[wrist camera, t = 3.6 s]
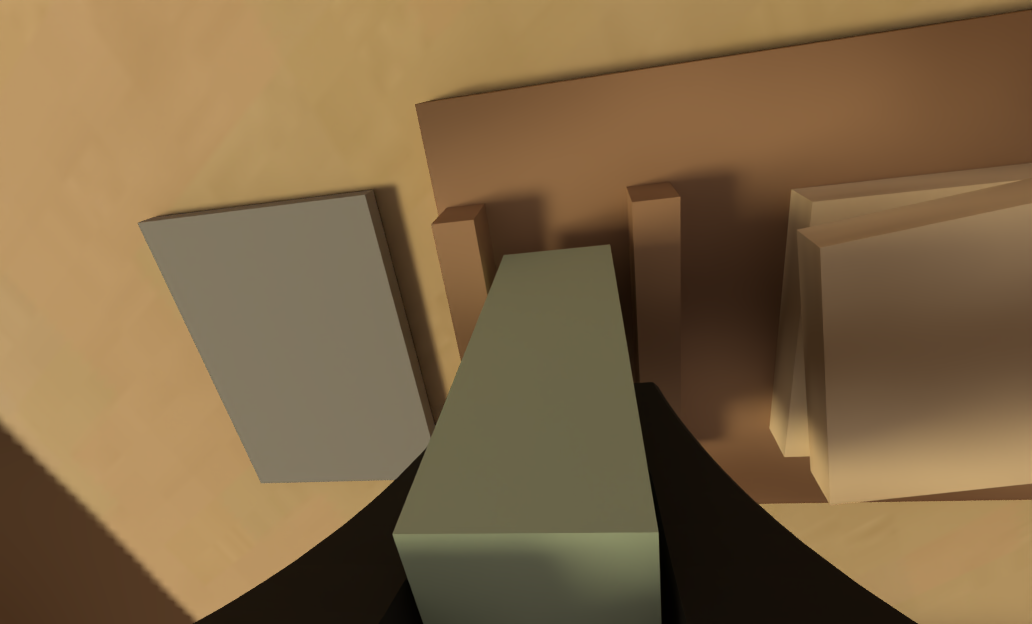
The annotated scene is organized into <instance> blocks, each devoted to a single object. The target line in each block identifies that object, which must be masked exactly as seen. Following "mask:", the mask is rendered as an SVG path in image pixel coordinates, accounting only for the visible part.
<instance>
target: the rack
mask: <svg viewBox="0 0 1032 624" xmlns="http://www.w3.org/2000/svg"><path fill="white" fill-rule="evenodd" d="M415 106H416V111H417V116H418V121H419V125H420V130H421V135H422V139H423V144H424V149H425V154H426V158H427V163H428V168H429V173H430V177H431V182H432V187H433V191H434V196H435V201H436V206H437V210H438V215H439V217H438V218H437V219H436V220H435V221H434V222H433V223H432V224H431V226H432V231H433V235H434V240H435V244H436V249H437V253H438V258H439V262H440V267H441V272H442V276H443V281H444V285H445V290H446V294H447V299H448V303H449V308H450V313H451V317H452V322H453V326H454V331H455V335H456V340H457V344H458V349H459V353H460V358H461V361H462V358H463V356H464V353H465V351H466V348H467V346H468V343H469V341H470V338H471V336H472V333H473V331H474V328H475V326H476V323H477V321H478V318H479V316H480V313H481V311H482V308H483V306H484V303H485V301H486V298H487V296H488V293H489V291H490V288H491V286H492V283H493V281H494V278H495V276H496V273H497V271H498V268H499V266H500V263H501V261H502V258H503V256H504V255H509V254H519V253H529V252H539V251H549V250H559V249H569V248H579V247H589V246H599V245H609V244H610V247H611V253H612V259H613V265H614V271H615V277H616V283H617V289H618V295H619V300H620V306H621V312H622V318H623V324H624V330H625V336H626V342H627V348H628V354H629V360H630V366H631V372H632V378H633V383H643V382H653V383H655V384H656V385H657V386H658V387H659V389H660V390H661V392H662V394H663V395H664V397H665V398H666V400H667V401H668V403H669V404H670V406H671V407H672V409H673V410H674V411H675V413H676V414H677V415H678V417H679V418H680V420H681V421H682V422H683V423H684V425H685V426H686V427H687V429H688V430H689V431H690V432H691V433H692V435H693V436H694V437H695V438H696V439H697V441H698V442H699V443H700V444H701V445H702V447H703V448H704V449H705V450H706V451H707V452H708V454H709V455H710V456H711V457H712V458H713V459H714V460H715V461H716V462H717V464H718V465H719V466H720V467H721V468H722V469H723V470H724V471H725V472H726V473H727V474H728V475H729V476H730V477H731V478H732V479H733V480H734V481H735V482H736V483H737V484H738V485H739V486H740V487H741V488H742V489H743V490H744V491H745V492H746V493H747V494H748V495H749V496H750V497H751V498H752V499H753V500H754V501H755V502H756V503H758V504H771V503H829V502H828V501H827V499H826V497H825V495H824V494H823V492H822V490H821V488H820V486H819V485H818V483H817V481H816V479H815V478H814V476H813V474H812V472H811V469H810V456H804V457H784V456H783V454H782V452H781V450H780V448H779V446H778V444H777V442H776V440H775V438H774V436H773V434H772V432H771V431H770V429H769V427H770V416H771V405H772V395H773V384H774V373H775V362H776V351H777V340H778V329H779V318H780V307H781V296H782V285H783V275H784V264H785V253H786V242H787V231H788V220H789V209H790V198H791V189H798V188H807V187H816V186H825V185H835V184H844V183H853V182H862V181H871V180H880V179H889V178H898V177H908V176H917V175H926V174H935V173H944V172H953V171H962V170H971V169H980V168H990V167H999V166H1008V165H1017V164H1026V163H1032V9H1029V10H1022V11H1016V12H1009V13H1002V14H996V15H989V16H983V17H976V18H970V19H963V20H957V21H950V22H944V23H937V24H930V25H924V26H917V27H911V28H904V29H898V30H891V31H885V32H878V33H872V34H865V35H858V36H852V37H845V38H839V39H832V40H826V41H819V42H813V43H806V44H800V45H793V46H786V47H780V48H773V49H767V50H760V51H754V52H747V53H741V54H734V55H728V56H721V57H714V58H708V59H701V60H695V61H688V62H682V63H675V64H669V65H662V66H656V67H649V68H642V69H636V70H629V71H623V72H616V73H610V74H603V75H597V76H590V77H584V78H577V79H570V80H564V81H557V82H551V83H544V84H538V85H531V86H525V87H518V88H512V89H505V90H498V91H492V92H485V93H479V94H472V95H466V96H459V97H453V98H446V99H440V100H433V101H427V102H423V103H419V104H415ZM967 500H1032V484H1023V485H1013V486H1004V487H995V488H985V489H976V490H967V491H958V492H948V493H939V494H930V495H920V496H911V497H902V498H892V499H883V500H874V501H865V502H902V501H967Z"/></svg>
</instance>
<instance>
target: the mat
mask: <svg viewBox="0 0 1032 624" xmlns="http://www.w3.org/2000/svg"><path fill="white" fill-rule="evenodd" d="M138 225H139V227H140V229H141V231H142V233H143V235H144V238H145V240H146V242H147V244H148V246H149V248H150V250H151V252H152V254H153V257H154V259H155V261H156V263H157V265H158V267H159V269H160V271H161V273H162V275H163V278H164V280H165V282H166V284H167V286H168V288H169V290H170V292H171V294H172V296H173V299H174V301H175V303H176V305H177V307H178V309H179V311H180V313H181V315H182V318H183V320H184V322H185V324H186V326H187V328H188V330H189V332H190V334H191V336H192V339H193V341H194V343H195V345H196V347H197V349H198V351H199V353H200V355H201V358H202V360H203V362H204V364H205V366H206V368H207V370H208V372H209V374H210V376H211V379H212V381H213V383H214V385H215V387H216V389H217V391H218V393H219V395H220V398H221V400H222V402H223V404H224V406H225V408H226V410H227V412H228V414H229V416H230V419H231V421H232V423H233V425H234V427H235V429H236V431H237V433H238V435H239V437H240V440H241V442H242V444H243V446H244V448H245V450H246V452H247V454H248V456H249V459H250V461H251V463H252V465H253V467H254V469H255V471H256V473H257V475H258V477H259V480H260V482H261V483H291V482H330V481H370V480H395V479H396V478H397V477H398V476H399V475H400V474H401V473H402V472H403V471H404V470H405V469H406V468H407V467H408V466H409V465H410V464H411V463H412V462H413V461H414V460H415V459H416V458H417V457H418V456H419V455H420V454H421V453H422V452H423V451H424V450H425V448H426V447H427V446H428V444H429V441H430V439H431V436H432V434H433V431H434V429H435V424H434V420H433V416H432V412H431V409H430V405H429V401H428V397H427V393H426V389H425V386H424V382H423V378H422V374H421V370H420V367H419V363H418V359H417V355H416V351H415V348H414V344H413V340H412V336H411V332H410V329H409V325H408V321H407V317H406V313H405V309H404V306H403V302H402V298H401V294H400V290H399V287H398V283H397V279H396V275H395V271H394V268H393V264H392V260H391V256H390V252H389V248H388V245H387V241H386V237H385V233H384V229H383V226H382V222H381V218H380V214H379V210H378V207H377V203H376V199H375V195H374V191H373V190H367V191H359V192H351V193H343V194H335V195H327V196H319V197H311V198H303V199H295V200H287V201H279V202H271V203H263V204H255V205H247V206H239V207H231V208H223V209H215V210H207V211H199V212H191V213H183V214H175V215H167V216H159V217H153V218H150V219H147V220H144V221H142V222H139V223H138Z"/></svg>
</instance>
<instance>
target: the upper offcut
mask: <svg viewBox="0 0 1032 624" xmlns="http://www.w3.org/2000/svg"><path fill="white" fill-rule="evenodd" d="M797 245H798V262H799V279H800V297H801V314H802V331H803V348H804V366H805V383H806V400H807V417H808V435H809V452H810V469H811V472H812V474H813V476H814V478H815V479H816V481H817V483H818V485H819V486H820V488H821V490H822V492H823V494H824V495H825V497H826V499H827V501H828V502H829V504H830V505H837V504H846V503H855V502H865V501H874V500H883V499H892V498H902V497H911V496H920V495H930V494H939V493H948V492H958V491H967V490H976V489H985V488H995V487H1004V486H1013V485H1023V484H1032V178H1029V179H1024V180H1020V181H1015V182H1011V183H1006V184H1002V185H997V186H992V187H988V188H983V189H979V190H974V191H970V192H965V193H961V194H956V195H952V196H947V197H943V198H938V199H934V200H929V201H924V202H920V203H915V204H911V205H906V206H902V207H897V208H893V209H888V210H884V211H879V212H875V213H870V214H866V215H861V216H856V217H852V218H847V219H843V220H838V221H834V222H829V223H825V224H820V225H816V226H811V227H807V228H802V229H798V230H797Z"/></svg>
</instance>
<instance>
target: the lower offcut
mask: <svg viewBox="0 0 1032 624" xmlns="http://www.w3.org/2000/svg"><path fill="white" fill-rule="evenodd" d="M1029 178H1032V163H1026V164H1017V165H1008V166H999V167H990V168H980V169H971V170H962V171H953V172H944V173H935V174H926V175H917V176H908V177H898V178H889V179H880V180H871V181H862V182H853V183H844V184H835V185H825V186H816V187H807V188H798V189H791V198H790V209H789V220H788V231H787V242H786V253H785V264H784V275H783V285H782V296H781V307H780V318H779V329H778V340H777V351H776V362H775V373H774V384H773V395H772V405H771V416H770V427H769V429H770V431H771V432H772V434H773V436H774V438H775V440H776V442H777V444H778V446H779V448H780V450H781V452H782V454H783V456H784V457H804V456H810V452H809V435H808V417H807V400H806V383H805V366H804V348H803V331H802V314H801V297H800V279H799V262H798V245H797V230H798V229H802V228H807V227H811V226H816V225H820V224H825V223H829V222H834V221H838V220H843V219H847V218H852V217H856V216H861V215H866V214H870V213H875V212H879V211H884V210H888V209H893V208H897V207H902V206H906V205H911V204H915V203H920V202H924V201H929V200H934V199H938V198H943V197H947V196H952V195H956V194H961V193H965V192H970V191H974V190H979V189H983V188H988V187H992V186H997V185H1002V184H1006V183H1011V182H1015V181H1020V180H1024V179H1029Z"/></svg>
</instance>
